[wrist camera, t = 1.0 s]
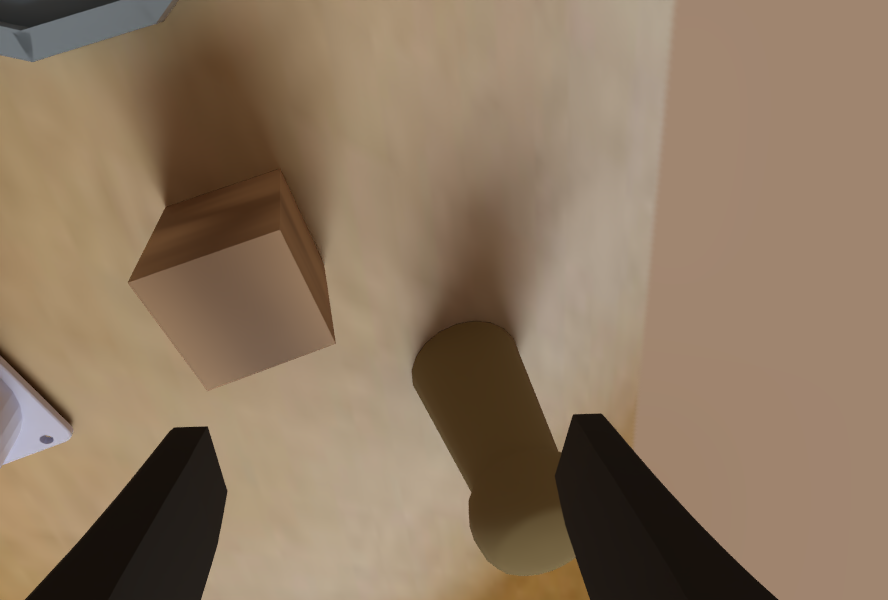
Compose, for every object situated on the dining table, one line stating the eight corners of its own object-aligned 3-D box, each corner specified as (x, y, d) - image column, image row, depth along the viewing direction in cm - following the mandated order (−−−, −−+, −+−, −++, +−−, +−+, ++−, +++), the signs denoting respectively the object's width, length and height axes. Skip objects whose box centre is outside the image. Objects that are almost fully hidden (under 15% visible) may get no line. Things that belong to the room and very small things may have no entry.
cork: (464, 301, 26) (562, 475, 17) (538, 352, 29) (654, 522, 20) (388, 382, 27) (440, 583, 18) (466, 423, 30) (544, 610, 21)
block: (223, 300, 22) (207, 391, 18) (165, 206, 20) (127, 282, 15) (323, 264, 23) (335, 343, 18) (280, 168, 20) (279, 229, 15)
